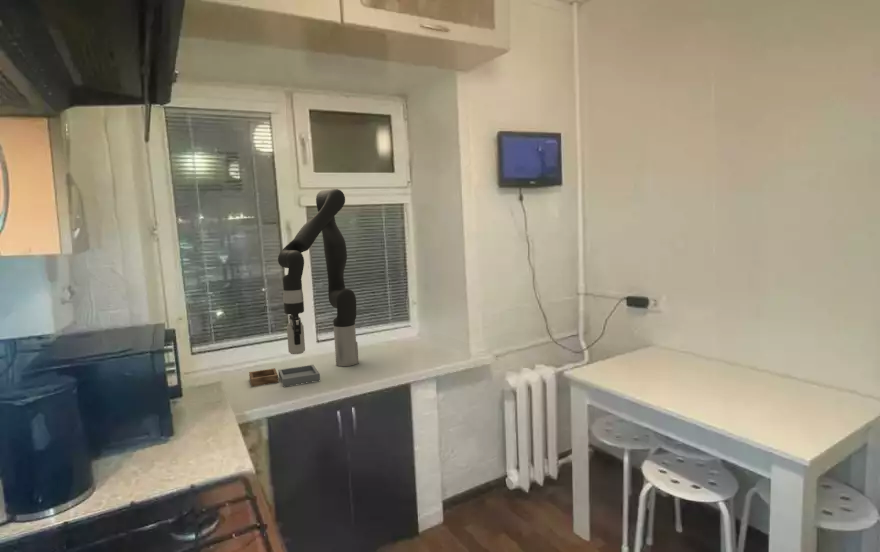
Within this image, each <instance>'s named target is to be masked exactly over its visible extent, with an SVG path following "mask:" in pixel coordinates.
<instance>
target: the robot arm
mask: <svg viewBox="0 0 880 552" xmlns="http://www.w3.org/2000/svg"><path fill="white" fill-rule="evenodd" d="M345 203H346V196H345V194H344V191H342V190H341V189H338V188H328V189H322V190H321V189H320V190H319V191H318V192H317V194H316V197H315V204H316V209H317V213H316V214H315V215H314V216H313V217H311V218H310V219H309V220H307V222H306V223H305V224H303V226H301V228H300V229H299V230H298V232H297V233H296V235H295V236H294V238H293V239H292V240H291V241H290V242H288V244H286V245H285V247H283V248H282V250H280V252H279V253H278V257H277V263H278V265H279V266H280V267H281V268H285V269H288V270H287V274H285V275H284V276H283V277H282V285H283V286H282V287H283V310H284V311H283V313H284V314H285V315H288V321H289V323H290V324H291V327H292V330H293V333H294V334H293V335H294V344H295V345H300V334H301V322H302V320H301V319H302V318H301V317H300V316H299V314H302V313H304V312H305V305H304V304H305V303H304V302H305V301H304V292H303V282H302V281H303V279H302V277H303V273H304V267H305V259H304V255H303V252H304V253H305V252H307V251H308V250H310V248H311V247H312V246H313V243H315V240H316V239H317V238H318V236H319V235H320V233H322V242H323V250H324V258H325V264H326V274H327V285H328V286H327V287H328V288H327V290H328V291H327V293H328V302H329V304H330V305H331V307H332V308H335V309H336V317H335V318H333V320H332V322H333V336H334V338H333V339H334V353H335V354H334V355H335V365H336V366H338V367H349V366H353V365H357V364H359V363H360V362H359V345H358V341H357V336H356V335H357V334H356V319H357V297H356V293H355V292H354V291H353V290H352V289H349V288H346V285H345V279H344V277H345V276H344V275H345V274H344V273H345V268H346V264H347V260H348V252H347V251H348V250H347V244H346V243H347V242H346V239H345V238H344V236H343V234H342V232H341V230H340V229H339V227H338V225H337V222H336V217H335V216H336V215H337V214H338V213H339V212H341V210H342V209H343V207H344V206H345ZM293 325H294V327H293ZM296 329H298V330H299V331H298V332H296Z"/></svg>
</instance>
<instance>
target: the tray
mask: <svg viewBox="0 0 880 552" xmlns="http://www.w3.org/2000/svg"><path fill="white" fill-rule="evenodd" d="M278 379H279V380H280V383H281V385H282V387H283V388H285V387H284V386H287V387H291V386H290V385H293V386H297V385H296V384H299V385H302V384H301V383H305V384H307V383H306V382H311V383H313V382H312V381H317V382H320V381H321V373H320V372H319V370H318V369H317V368H316V367H315V365H314V364H308V365H307V364H306V365H300V366H296V367H295V366H294V367H288V368H282V369H281V368H280V369H278ZM319 380H320V381H319Z"/></svg>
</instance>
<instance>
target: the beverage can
mask: <svg viewBox="0 0 880 552" xmlns="http://www.w3.org/2000/svg"><path fill="white" fill-rule="evenodd" d="M293 327H294V325H293ZM298 331H299V330H298V329H296V332H298ZM286 334H287V336H286V337H287V347H288V353H290V354H291V355H300V354H303V353H304V352H305V351H306V343H305V328H304V325H303V322H302V321H301V334H300V345H295V344H294V335H293V334H294V333H293V330H292V327H291V324H290V322H288V323H287V326H286Z"/></svg>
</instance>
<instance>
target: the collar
mask: <svg viewBox="0 0 880 552" xmlns="http://www.w3.org/2000/svg"><path fill="white" fill-rule="evenodd" d="M248 374H249V382H250V386H251V387H257V386H264V384H265V385H270V384H277V383H279V373H278V372H277V370H276V368H274V367H273V368H270V369H269V368H267V369H261V370H255V371H254V370H253V371H249V373H248Z"/></svg>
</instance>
